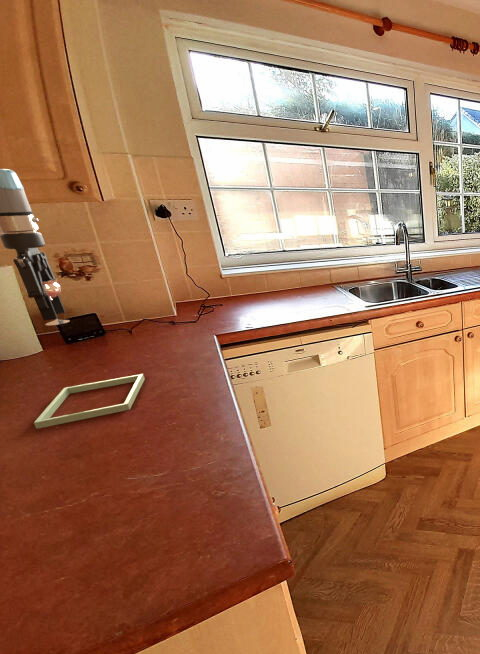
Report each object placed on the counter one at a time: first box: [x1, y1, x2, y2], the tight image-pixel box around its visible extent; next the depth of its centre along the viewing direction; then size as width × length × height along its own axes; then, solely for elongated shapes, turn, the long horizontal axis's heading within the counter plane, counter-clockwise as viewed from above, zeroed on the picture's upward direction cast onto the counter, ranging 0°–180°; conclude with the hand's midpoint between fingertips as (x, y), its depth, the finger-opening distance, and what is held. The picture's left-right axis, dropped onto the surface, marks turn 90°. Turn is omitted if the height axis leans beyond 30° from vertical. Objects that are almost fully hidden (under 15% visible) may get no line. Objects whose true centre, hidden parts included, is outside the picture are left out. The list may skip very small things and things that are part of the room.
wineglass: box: [22, 278, 71, 326], centre depth 118 cm, size 7×7×12 cm
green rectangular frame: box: [33, 373, 146, 430], centre depth 102 cm, size 16×20×3 cm
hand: (55, 316), depth 120 cm, fingers closed on wineglass, 6 cm apart
